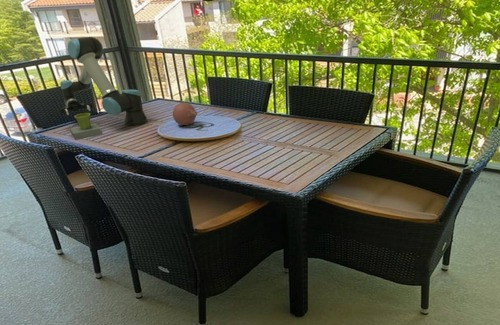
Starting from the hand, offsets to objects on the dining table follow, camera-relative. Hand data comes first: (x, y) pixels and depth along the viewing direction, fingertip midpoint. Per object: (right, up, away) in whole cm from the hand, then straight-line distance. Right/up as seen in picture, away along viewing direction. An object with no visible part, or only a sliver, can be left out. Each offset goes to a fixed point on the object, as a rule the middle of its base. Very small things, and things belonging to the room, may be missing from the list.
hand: (78, 110), depth 232 cm
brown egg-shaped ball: (+72, -10, +4) cm, 72 cm away
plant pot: (+7, -12, -4) cm, 14 cm away
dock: (+7, -16, -3) cm, 17 cm away
